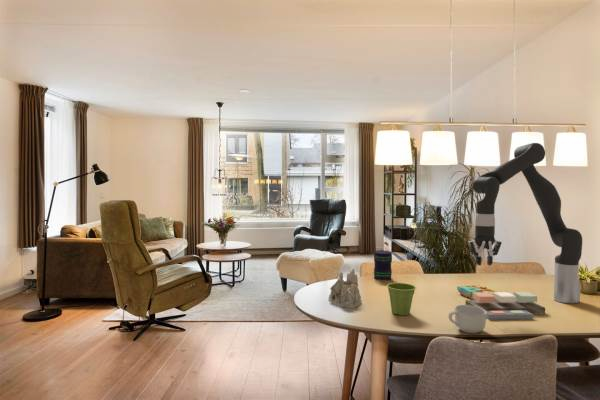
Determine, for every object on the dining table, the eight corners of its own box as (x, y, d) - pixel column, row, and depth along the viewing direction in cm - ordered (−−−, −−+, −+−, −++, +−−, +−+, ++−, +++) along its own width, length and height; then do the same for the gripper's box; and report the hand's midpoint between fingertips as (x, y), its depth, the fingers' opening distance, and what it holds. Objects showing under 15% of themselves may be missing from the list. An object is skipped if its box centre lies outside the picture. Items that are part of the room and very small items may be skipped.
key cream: (507, 297, 180) (507, 292, 180) (516, 302, 174) (516, 296, 174) (492, 297, 180) (493, 292, 180) (500, 302, 174) (500, 296, 174)
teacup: (477, 325, 158) (478, 304, 158) (492, 335, 147) (492, 313, 147) (441, 325, 157) (441, 304, 157) (453, 336, 147) (453, 313, 146)
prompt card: (525, 315, 170) (525, 309, 170) (533, 319, 165) (533, 313, 165) (482, 315, 169) (482, 310, 169) (488, 319, 164) (488, 313, 164)
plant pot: (402, 319, 164) (403, 291, 164) (380, 312, 174) (380, 285, 173) (421, 314, 171) (422, 286, 171) (399, 307, 181) (399, 281, 180)
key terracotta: (487, 297, 180) (487, 292, 180) (494, 302, 174) (494, 296, 174) (472, 298, 180) (472, 292, 180) (479, 302, 173) (479, 296, 173)
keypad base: (528, 305, 184) (528, 299, 184) (545, 313, 172) (545, 307, 172) (465, 305, 183) (465, 300, 183) (478, 314, 171) (478, 308, 171)
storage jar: (370, 277, 237) (370, 251, 236) (383, 275, 241) (384, 250, 241) (381, 281, 228) (381, 254, 227) (395, 279, 233) (395, 252, 232)
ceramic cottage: (334, 295, 200) (334, 264, 198) (366, 301, 192) (367, 269, 190) (319, 305, 186) (320, 272, 184) (354, 312, 178) (355, 278, 176)
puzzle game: (478, 283, 205) (507, 293, 186) (477, 292, 205) (507, 304, 186) (457, 284, 202) (485, 295, 183) (457, 294, 203) (484, 306, 183)
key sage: (528, 297, 181) (528, 292, 181) (537, 301, 174) (537, 296, 174) (513, 297, 181) (513, 292, 180) (521, 302, 174) (522, 296, 174)
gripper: (497, 223, 179) (496, 263, 180) (464, 223, 179) (463, 263, 180) (506, 225, 172) (505, 266, 173) (472, 225, 171) (471, 267, 172)
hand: (484, 264), depth 176 cm, fingers open, 3 cm apart
